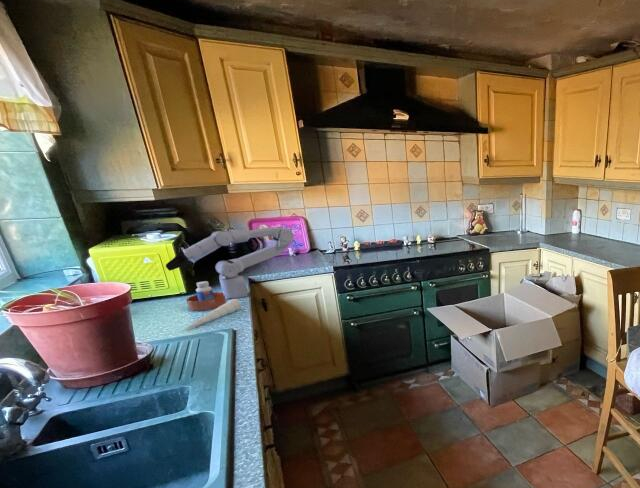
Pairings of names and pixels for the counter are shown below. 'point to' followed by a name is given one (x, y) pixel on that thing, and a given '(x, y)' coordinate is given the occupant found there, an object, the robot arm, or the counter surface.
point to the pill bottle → (204, 291)
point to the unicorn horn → (218, 312)
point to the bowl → (206, 302)
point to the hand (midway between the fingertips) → (167, 267)
